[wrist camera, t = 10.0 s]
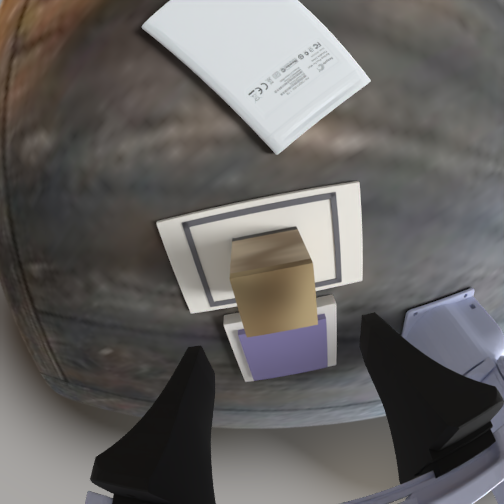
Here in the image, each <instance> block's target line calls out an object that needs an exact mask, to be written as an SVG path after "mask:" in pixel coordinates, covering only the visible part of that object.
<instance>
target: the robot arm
mask: <svg viewBox="0 0 504 504" xmlns="http://www.w3.org/2000/svg"><path fill="white" fill-rule="evenodd" d="M473 295H474V289H473V288H470V289H467V290H464V291H462V292H459V293H457V294H454V295H451V296H448V297H446V298H443V299H440V300H437V301H434V302H432V303H429V304H426V305H423V306H420V307H417V308H413V309H410V310H409V311H407V313H406V316H405V321H404V326H403V331H402V335H400V334H398V333H397V332H396V331H395V330H394V329H393V328H392V327H390V326H389V325H388V324H387V323H386V322H385V321H384V320H383V319H382V318H381V317H379V316H378V315H377V314H376V313H375V312H374V313H370V314H366V315H362V323H361V336H360V349H361V352H362V356H363V359H364V362H365V365H366V367H367V370H368V372H369V374H370V376H371V379H372V381H373V383H374V385H375V387H376V390H377V392H378V394H379V397H380V399H381V401H382V404H383V406H384V409H385V412H386V416H387V419H388V423H389V427H390V430H391V435H392V439H393V443H394V448H395V454H396V459H397V466H398V473H399V481H400V484H401V485H398V486H395V487H393V488H390V489H387V490H384V491H381V492H379V493H375V494H372V495H369V496H366V497H363V498H359V499H355V500H352V501H348V502H344V503H340V504H389V503H391V502H394V501H397V500H399V499H402V498H404V497H407V496H408V497H407V498H406V500H405V501H403V502H401V503H398V504H473V503H475V502H476V501H477V500H479V499H480V498H482V497H483V496H484V495H486V494H487V493H488V492H490V491H491V490H492V492H493V494H494V496H495V498H496V500H497V503H498V504H504V334H503V332H502V330H501V328H500V327H499V325H498V324H497V323H496V322H495V321H494V319H493V318H492V317H491V316H490V315H489V314H488V312H487V311H486V310H485V309H484V308H483V307H482V306H481V305H480V303H479V302H478V301H477V300H476V299H475V298H474V297H473ZM214 398H215V373H214V371H213V369H212V367H211V365H210V363H209V361H208V359H207V357H206V355H205V353H204V350H203V348H202V346H195V347H188V349H187V350H186V352H185V354H184V356H183V358H182V359H181V361H180V363H179V365H178V367H177V368H176V370H175V372H174V373H173V375H172V377H171V378H170V380H169V382H168V383H167V385H166V387H165V388H164V390H163V391H162V393H161V394H160V395H159V397H158V398H157V400H156V401H155V403H154V404H153V405H152V407H151V408H150V409H149V410H148V412H147V413H146V414H145V415H144V416H143V417H142V419H141V420H140V421H139V422H138V423H137V424H136V425H135V426H134V427H133V428H132V429H131V430H130V431H129V432H128V433H127V434H126V435H125V436H123V437H122V438H121V439H120V440H119V441H118V442H116V443H115V444H114V445H113V446H111V447H110V448H108V449H107V450H106V451H104V452H103V453H101V454H100V455H98V456H97V457H96V459H95V462H94V466H93V470H92V474H91V478H90V480H91V481H92V483H94V484H95V485H97V486H99V487H101V488H103V489H105V490H107V491H109V492H111V493H113V494H114V496H113V498H110V497H107V496H104V495H101V494H98V493H94V492H91V491H88V492H87V497H86V502H85V504H216V503H215V497H214V489H213V479H212V466H211V427H212V418H213V408H214Z"/></svg>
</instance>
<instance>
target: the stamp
mask: <svg viewBox="0 0 504 504" xmlns="http://www.w3.org/2000/svg"><path fill="white" fill-rule="evenodd" d="M229 279H230V283H231V286H232V289H233V293H234V296H235V300H236V303H237V307H238V310H239V313H240V317H241V320H242V323H243V327H244V330H245V333H246V337H254V336H260V335H266V334H272V333H277V332H283V331H288V330H293V329H298V328H303V327H308V326H313V325H318V317H317V303H316V290H315V279H314V268H313V262H312V260H311V257H310V255H309V253H308V251H307V248H306V246H305V244H304V242H303V240H302V237H301V235H300V233H299V231H298V229H297V227H296V226H295V227H290V228H284V229H279V230H274V231H269V232H263V233H258V234H253V235H248V236H243V237H238V238H233V239H232V249H231V263H230V278H229Z"/></svg>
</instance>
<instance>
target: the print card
mask: <svg viewBox="0 0 504 504" xmlns="http://www.w3.org/2000/svg"><path fill="white" fill-rule="evenodd" d="M156 224H157V227H158V230H159V233H160V236H161V238H162V241H163V244H164V247H165V249H166V252H167V255H168V258H169V260H170V263H171V265H172V268H173V271H174V273H175V276H176V278H177V281H178V283H179V286H180V288H181V291H182V293H183V296H184V298H185V301H186V303H187V305H188V308H189V310H190V312H191V313H198V312H204V311H211V310H217V309H223V308H229V307H235V306H237V303H236V300H235V296H234V293H233V289H232V286H231V283H230V279H229V278H230V263H231V249H232V239H233V238H238V237H243V236H248V235H253V234H258V233H263V232H269V231H274V230H279V229H284V228H290V227H295V226H296V227H297V229H298V231H299V233H300V235H301V237H302V240H303V242H304V244H305V246H306V248H307V251H308V253H309V255H310V257H311V260H312V262H313V268H314V279H315V290H316V291H318V290H323V289H328V288H332V287H337V286H341V285H345V284H350V283H354V282H358V281H362V263H363V257H362V216H361V198H360V184H359V182H358V181H354V182H347V183H340V184H334V185H328V186H322V187H316V188H310V189H304V190H299V191H293V192H288V193H282V194H277V195H272V196H267V197H262V198H256V199H252V200H247V201H242V202H237V203H232V204H228V205H223V206H219V207H214V208H210V209H205V210H201V211H196V212H192V213H188V214H184V215H180V216H175V217H171V218H167V219H163V220H159V221H157V223H156Z"/></svg>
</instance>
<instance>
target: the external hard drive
mask: <svg viewBox="0 0 504 504" xmlns="http://www.w3.org/2000/svg"><path fill="white" fill-rule="evenodd" d="M142 29H143V30H145V31H146V32H147V33H148V34H150V35H151V36H152V37H153V38H155V39H156V40H157V41H158V42H159V43H161V44H162V45H163V46H164V47H166V48H167V49H168V50H169V51H170V52H172V53H173V54H174V55H175V56H176V57H177V58H178V59H180V60H181V61H182V62H183V63H184V64H185V65H186V66H188V67H189V68H190V69H191V70H192V71H193V72H194V73H195V74H196V75H198V76H199V77H200V78H201V79H202V80H203V81H204V82H205V83H206V84H207V85H208V86H209V87H210V88H211V89H213V90H214V91H215V92H216V93H217V94H218V95H219V96H220V97H221V98H222V99H223V100H224V101H225V102H226V103H227V104H228V105H229V106H230V107H231V108H232V109H233V110H234V111H235V112H236V113H237V114H238V115H239V116H240V117H241V118H242V119H243V120H244V121H245V122H246V123H247V124H248V125H249V126H250V127H251V128H252V129H253V130H254V131H255V132H256V134H257V135H258V136H259V137H260V138H261V139H262V140H263V141H264V142H265V143H266V144H267V145H268V146H269V147H270V149H271V150H272V151H273V152H274V153H275V154H276V155H277V154H279V153H280V152H282V151H283V150H284V149H285V148H286V147H288V146H289V145H290V144H291V143H292V142H293V141H295V140H296V139H297V138H298V137H300V136H301V135H302V134H303V133H304V132H306V131H307V130H308V129H309V128H311V127H312V126H313V125H314V124H316V123H317V122H318V121H319V120H320V119H322V118H323V117H324V116H326V115H327V114H328V113H330V112H331V111H332V110H333V109H335V108H336V107H337V106H339V105H340V104H341V103H343V102H344V101H345V100H347V99H348V98H349V97H351V96H352V95H353V94H354V93H356V92H357V91H359V90H360V89H361V88H363V87H364V86H366V85H367V84H368V83H369V82H370V81H371V80H370V79H369V77H368V76H367V75H366V74H365V72H364V71H363V70H362V68H361V67H360V66H359V65H358V64H357V62H356V61H355V60H354V59H353V57H352V56H351V55H350V54H349V52H348V51H347V50H346V49H345V48H344V47H343V46H342V44H341V43H340V42H339V41H338V40H337V39H336V38H335V36H334V35H333V34H332V33H331V32H330V31H329V30H328V29H327V28H326V27H325V26H324V25H323V24H322V23H321V22H320V21H319V20H318V19H317V18H316V17H315V16H314V15H313V14H312V13H311V12H310V11H309V10H308V9H307V8H306V7H305V6H303V5H302V4H301V3H300V2H299V1H298V0H170V1H169V2H167V3H166V4H165V5H164V6H163V7H161V8H160V9H159V10H158V11H157V12H155V13H154V14H153V15H152V16H151V17H150V18H149V19H148V20H147V21H146V22H145V23H144V24H143V25H142Z"/></svg>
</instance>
